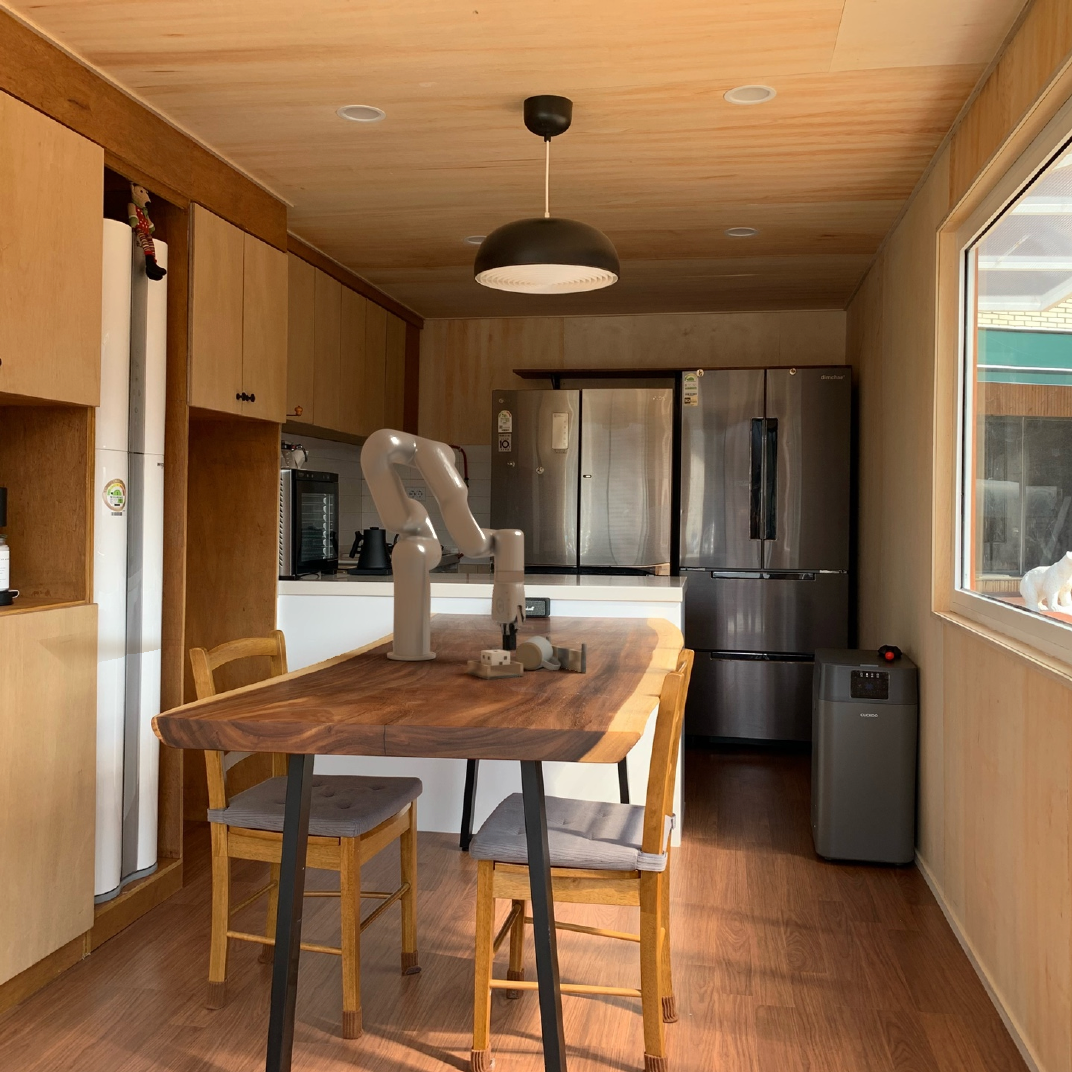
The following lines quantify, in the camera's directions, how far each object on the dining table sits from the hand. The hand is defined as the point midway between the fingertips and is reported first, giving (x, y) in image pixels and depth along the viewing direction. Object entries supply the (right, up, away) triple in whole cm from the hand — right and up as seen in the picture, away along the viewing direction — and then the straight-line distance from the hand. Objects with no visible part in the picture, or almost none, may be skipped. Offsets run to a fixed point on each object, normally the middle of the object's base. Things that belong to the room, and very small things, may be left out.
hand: (509, 649), depth 265 cm
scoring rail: (+14, -4, -8) cm, 16 cm away
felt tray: (-3, -4, -20) cm, 21 cm away
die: (-3, -3, -20) cm, 21 cm away
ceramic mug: (+7, -4, -9) cm, 12 cm away
